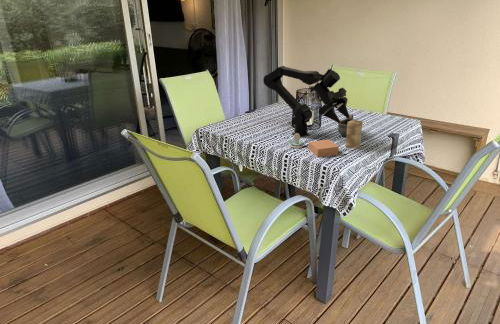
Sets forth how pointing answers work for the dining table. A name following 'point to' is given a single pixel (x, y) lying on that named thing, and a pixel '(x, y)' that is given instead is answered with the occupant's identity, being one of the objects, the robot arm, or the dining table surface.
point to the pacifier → (296, 142)
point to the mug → (344, 125)
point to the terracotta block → (323, 148)
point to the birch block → (354, 134)
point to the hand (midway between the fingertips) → (344, 119)
